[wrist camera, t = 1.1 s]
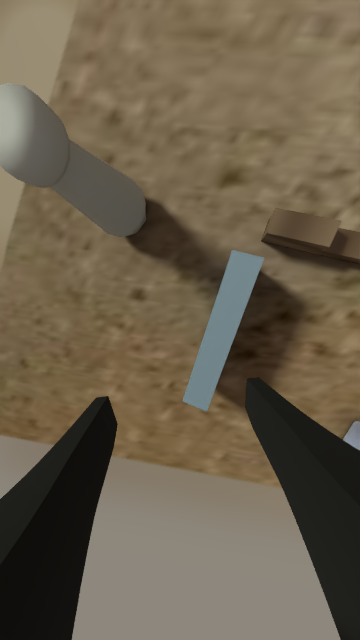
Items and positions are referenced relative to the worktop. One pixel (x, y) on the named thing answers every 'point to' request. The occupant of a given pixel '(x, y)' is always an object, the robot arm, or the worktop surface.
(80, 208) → the salt shaker
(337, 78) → the worktop surface
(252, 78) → the worktop surface
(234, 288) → the slate-blue slotted board
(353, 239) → the walnut slotted board
